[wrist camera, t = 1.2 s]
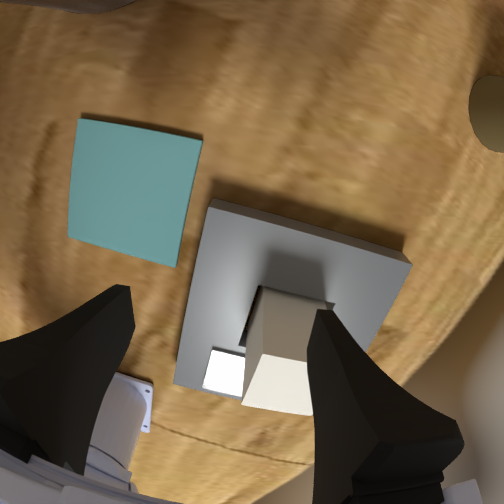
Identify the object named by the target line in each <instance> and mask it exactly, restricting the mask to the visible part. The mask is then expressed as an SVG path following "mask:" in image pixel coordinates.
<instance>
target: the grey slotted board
mask: <svg viewBox="0 0 504 504" xmlns="http://www.w3.org/2000/svg"><path fill="white" fill-rule="evenodd" d="M411 267H412V263H411V262H410V261H409V260H408V259H407V257H406V256H405V255H404V254H403V253H402V252H399V251H396V250H393V249H390V248H387V247H384V246H380V245H377V244H374V243H371V242H368V241H364V240H361V239H358V238H355V237H351V236H348V235H345V234H341V233H338V232H335V231H331V230H328V229H325V228H321V227H318V226H314V225H311V224H307V223H304V222H300V221H297V220H293V219H290V218H286V217H283V216H279V215H276V214H272V213H268V212H265V211H261V210H257V209H254V208H250V207H246V206H243V205H239V204H235V203H231V202H228V201H224V200H220V199H216V198H213V199H212V201H211V203H210V205H209V207H208V211H207V215H206V219H205V224H204V228H203V232H202V237H201V241H200V246H199V250H198V255H197V260H196V264H195V269H194V274H193V279H192V283H191V288H190V293H189V298H188V303H187V308H186V314H185V319H184V324H183V329H182V335H181V340H180V346H179V351H178V357H177V363H176V369H175V374H174V380H173V384H176V385H179V386H183V387H187V388H191V389H195V390H199V391H203V392H207V393H211V394H216V395H220V396H225V397H229V398H234V399H239V400H242V388H243V376H244V364H245V351H246V339H247V331H245V330H243V329H244V326H245V323H246V320H247V317H248V314H249V311H250V308H251V305H252V302H253V299H254V296H255V293H256V290H257V287H258V285H262V286H266V287H270V288H274V289H278V290H282V291H286V292H290V293H295V294H299V295H303V296H307V297H311V298H315V299H319V300H324V301H325V304H326V308H327V310H333V311H334V312H335V314H336V315H337V316H338V318H339V319H340V320H341V322H342V323H343V325H344V326H345V327H346V329H347V330H348V331H349V333H350V334H351V335H352V337H353V338H354V339H355V341H356V342H357V343H358V344H359V346H360V347H361V348H362V349H363V350H364V352H366V350H367V349H368V347H369V345H370V344H371V342H372V340H373V338H374V337H375V335H376V333H377V332H378V330H379V328H380V326H381V325H382V323H383V321H384V319H385V317H386V316H387V314H388V312H389V310H390V308H391V307H392V305H393V303H394V301H395V299H396V297H397V295H398V293H399V291H400V289H401V287H402V286H403V284H404V282H405V280H406V278H407V276H408V274H409V272H410V269H411Z"/></svg>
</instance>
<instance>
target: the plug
mask: <svg viewBox="0 0 504 504" xmlns="http://www.w3.org/2000/svg"><path fill="white" fill-rule="evenodd" d="M317 309H326V310H327V308H326V304H325V301H324V300H319V299H315V298H311V297H307V296H303V295H299V294H295V293H290V292H286V291H282V290H278V289H274V288H270V287H266V286H262V285H261V287H260V290H259V293H258V296H257V299H256V302H255V305H254V308H253V311H252V314H251V317H250V320H249V323H248V326H247V339H246V351H245V364H244V376H243V388H242V401H241V405H246V406H251V407H256V408H262V409H268V410H274V411H280V412H287V413H294V414H301V415H309V416H311V415H312V414H313V409H312V402H311V395H310V389H309V381H308V374H307V346H308V342H309V338H310V335H311V331H312V327H313V323H314V319H315V315H316V311H317Z"/></svg>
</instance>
